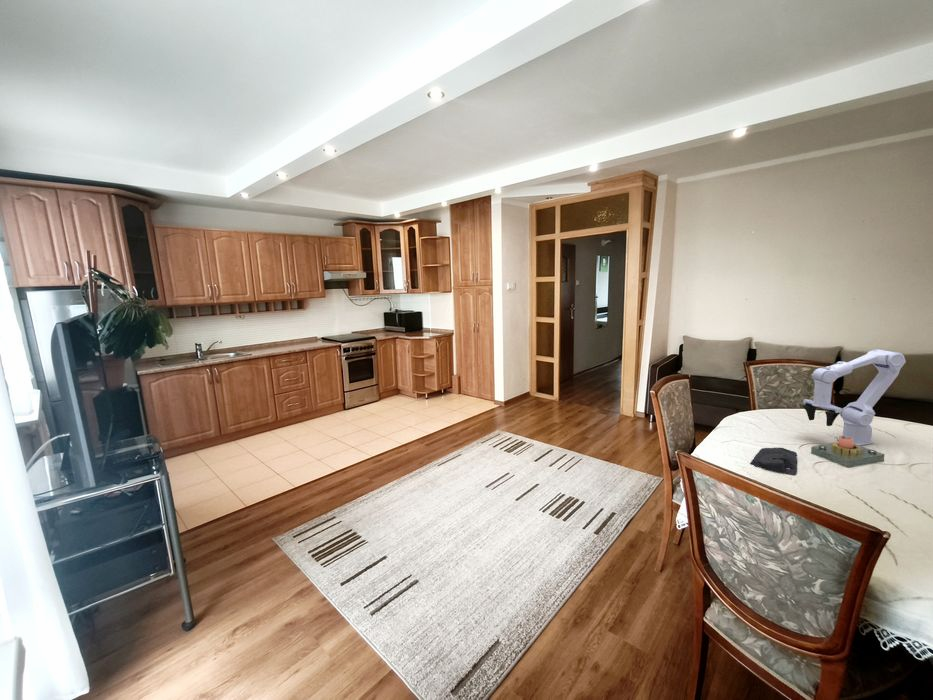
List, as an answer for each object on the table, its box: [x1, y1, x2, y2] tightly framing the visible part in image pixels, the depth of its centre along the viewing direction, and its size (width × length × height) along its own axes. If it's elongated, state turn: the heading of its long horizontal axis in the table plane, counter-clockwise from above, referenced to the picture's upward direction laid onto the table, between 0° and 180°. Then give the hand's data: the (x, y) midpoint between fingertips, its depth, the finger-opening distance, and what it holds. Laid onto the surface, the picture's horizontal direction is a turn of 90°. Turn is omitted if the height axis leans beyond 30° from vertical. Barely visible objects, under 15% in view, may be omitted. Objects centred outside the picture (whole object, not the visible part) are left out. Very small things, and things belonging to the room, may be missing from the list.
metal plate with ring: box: [810, 441, 885, 469], centre depth 158 cm, size 18×14×5 cm
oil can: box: [838, 434, 853, 449], centre depth 158 cm, size 4×4×8 cm
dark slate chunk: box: [749, 447, 798, 476], centre depth 159 cm, size 15×22×5 cm
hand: (820, 422), depth 171 cm, fingers open, 7 cm apart
